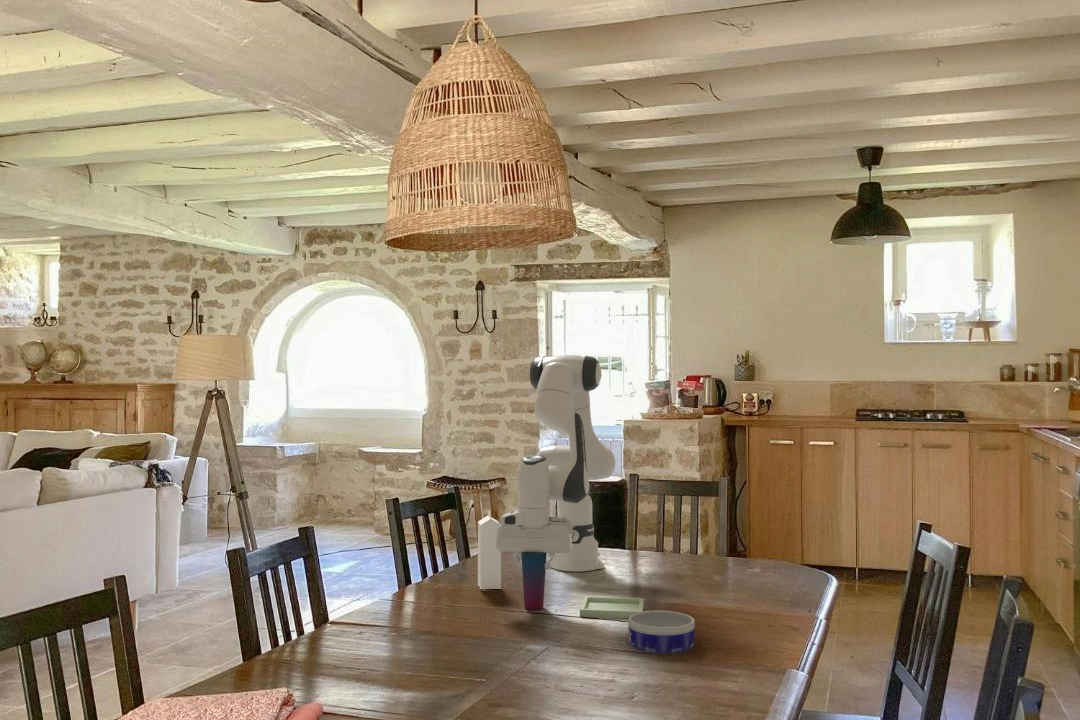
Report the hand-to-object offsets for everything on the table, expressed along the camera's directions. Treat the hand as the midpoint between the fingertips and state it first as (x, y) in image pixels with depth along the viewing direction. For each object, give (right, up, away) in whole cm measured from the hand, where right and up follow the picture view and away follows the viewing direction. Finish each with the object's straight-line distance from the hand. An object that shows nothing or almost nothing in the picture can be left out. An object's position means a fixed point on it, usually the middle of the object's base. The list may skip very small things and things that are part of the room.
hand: (533, 568), depth 246 cm
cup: (0, -10, 0) cm, 11 cm away
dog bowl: (+30, -11, -32) cm, 45 cm away
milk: (-13, -11, +22) cm, 28 cm away
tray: (+21, -10, -3) cm, 23 cm away
